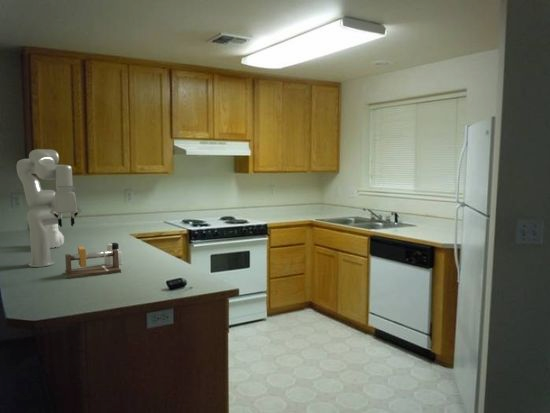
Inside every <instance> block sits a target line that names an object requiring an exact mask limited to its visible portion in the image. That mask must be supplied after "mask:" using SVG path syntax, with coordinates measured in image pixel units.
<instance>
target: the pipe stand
mask: <svg viewBox="0 0 550 413" xmlns="http://www.w3.org/2000/svg"><path fill="white" fill-rule="evenodd" d="M118 251H119V250H112V251H107V250H105V251H104V250H103V251H94V252H86V260H89V259H97V258H98V259H99V258H100V259H101V258H104V259H105V257H111V256H113V264H112V265H105V264H104V265H95V266H88V267H87V266H86V267H78V268H72V261H79V260H80V254H78V253H74V254H70V253H66V254H65V255H64V256H65V270H64V272H65V275H66V277H67V278H68V279H69V280H71V279H77V278H78V279H79V278H86V277H94V276H96V277H97V276H102V275H111V274H119V273H120V274H121V273H122V270H121V268H120V265H119V259H118Z"/></svg>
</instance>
